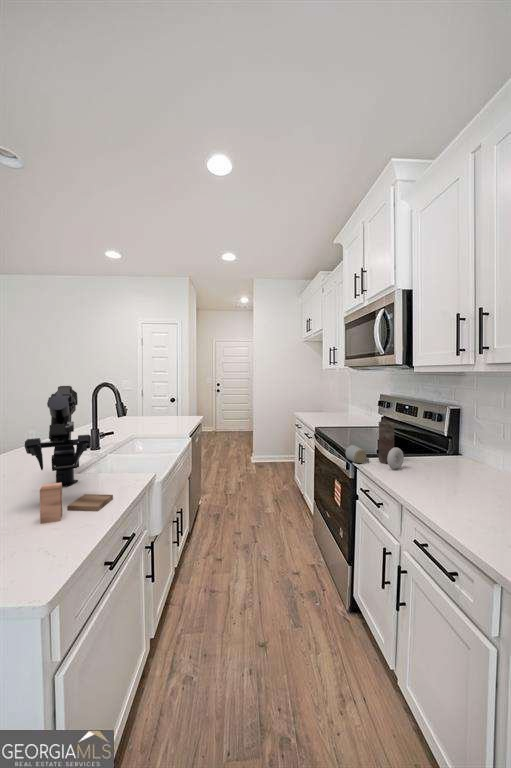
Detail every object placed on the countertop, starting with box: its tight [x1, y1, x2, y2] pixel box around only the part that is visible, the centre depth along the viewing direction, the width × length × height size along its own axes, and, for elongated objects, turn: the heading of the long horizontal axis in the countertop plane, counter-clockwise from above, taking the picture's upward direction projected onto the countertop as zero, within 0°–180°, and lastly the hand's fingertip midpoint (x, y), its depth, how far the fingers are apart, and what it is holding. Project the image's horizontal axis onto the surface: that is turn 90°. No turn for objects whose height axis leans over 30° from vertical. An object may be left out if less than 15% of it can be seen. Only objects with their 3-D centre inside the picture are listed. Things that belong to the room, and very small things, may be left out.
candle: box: [378, 421, 395, 464], centre depth 163 cm, size 8×7×20 cm
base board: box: [66, 493, 114, 512], centre depth 110 cm, size 10×10×2 cm
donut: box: [387, 446, 404, 470], centre depth 151 cm, size 10×4×10 cm, turn 124°
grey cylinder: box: [345, 444, 370, 464], centre depth 164 cm, size 11×8×8 cm
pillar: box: [39, 482, 63, 525], centre depth 99 cm, size 5×5×10 cm
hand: (58, 468), depth 106 cm, fingers open, 9 cm apart
